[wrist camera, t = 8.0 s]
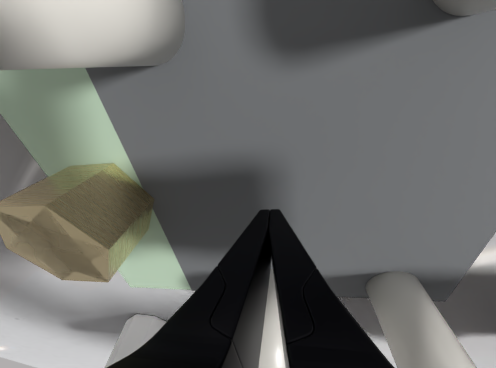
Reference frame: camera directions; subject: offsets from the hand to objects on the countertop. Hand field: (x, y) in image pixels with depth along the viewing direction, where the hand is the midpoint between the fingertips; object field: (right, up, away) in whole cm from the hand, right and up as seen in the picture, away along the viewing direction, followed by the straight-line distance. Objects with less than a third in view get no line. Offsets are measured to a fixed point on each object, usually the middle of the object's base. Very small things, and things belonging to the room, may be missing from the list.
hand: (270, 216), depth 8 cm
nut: (-9, 0, +3) cm, 9 cm away
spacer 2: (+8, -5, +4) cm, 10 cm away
